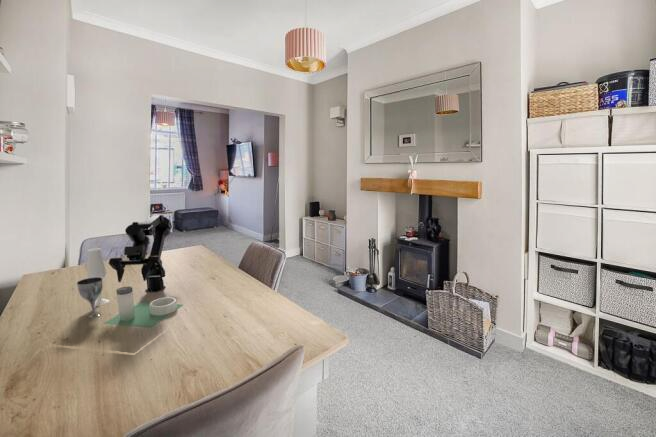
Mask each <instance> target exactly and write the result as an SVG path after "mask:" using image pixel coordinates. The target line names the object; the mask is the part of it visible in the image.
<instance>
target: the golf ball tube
mask: <svg viewBox="0 0 656 437" xmlns="http://www.w3.org/2000/svg"><path fill="white" fill-rule="evenodd" d="M133 290H134V289H133V287H132V286H122V287H118V288H117V289H116V290H115V292H116V297H117V298H116V299H117V304H118V305H117V306H118V315H119V316H120V321H129V320H132V319H134V318H135V312H134V306H135V305H134V304H135V303H134V294H133Z"/></svg>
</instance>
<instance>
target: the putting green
mask: <svg viewBox="0 0 656 437" xmlns="http://www.w3.org/2000/svg"><path fill="white" fill-rule="evenodd" d="M183 306H184V304H178V303H177V299H176V298H175V297H171V296H165V297H160V298H157V299H154V300H152V301H140V302H138V303H137V304H135V305H134V312H135V318H134V319H132V320H129V321H120V316H119V314H117V315H116V316H113V317H112V318H110V319H109V320H107V321H105V322H103V324H106V325H118V326H126V327H127V326H128V327H129V326H130V327H136V328H137V327H139V328H150V329H151V328H153V327H154V326H155V325H157V324H158V323H160V322H161V321H163V320H164V319H166V318H167V317H168V316H170V315H172V314H173V313H174V312H175V311H177V310H179V309H180V308H181V307H183Z"/></svg>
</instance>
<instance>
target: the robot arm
mask: <svg viewBox="0 0 656 437" xmlns="http://www.w3.org/2000/svg"><path fill="white" fill-rule="evenodd" d="M172 227H173V225H172V222H171V221H170V219H169V218H167V217H165V216H164V215H163V214H162V213H160V214H157V213H156V214H151V215H150V216H149V218H147V219H146V220H145V221H142V222H138V221H133V222H132V224H129V225H128V226H127V227H126V228H125V231H124V232H125V233H126V235H127V237H128V238H129V240H130V241H131V242H133V243H132V246H124V252H123V255H124V256H126V259H127V260H124V259H123V257H120V256H119V257H111V258H110V259H109V261H108V265H109V266H110V267H111V268H112V269H113V270H115V271H116V275H117V282H118V283H122V280H123V277H124V273H125V267H126V266H133V265H134V266H135V265H137V266H138V265H139V266H140V265H142V266H141V275H142V279H143V281H144V282H146V289H145V291H144V292H154V293H157V292H159V291H161V290H163V289H165V288H166V286H165V284H164V279H163V278H165V277H166V270H165V268H164V266H163V261H162V259H161V257H162V252H163V248H164V242H165V238H166V237H167V236H168V235H170V233H171V230H172ZM153 235H154V237H153V241H152V246H151V249H150V253H149V254H150V255H149V256H148V257H147V258H146V256H147V255H148V247H149V244H151V243H150V238H149V237H151V236H153Z"/></svg>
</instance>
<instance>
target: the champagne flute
mask: <svg viewBox="0 0 656 437" xmlns="http://www.w3.org/2000/svg"><path fill="white" fill-rule="evenodd" d="M86 253H87V255H86V258H87V259H86V261H87V263H86V266H87V268H86V271H87V274H86V275H87V278H93V277H100V278H102V280H103V279H104V278H105V277H106V275H107V269H106V265H105V261H104V257H103V256H104V255H103V252H102V248H99V247H96V248H95V247H94V248H90V249H89V248H88V249H87V250H86ZM109 302H110V300H109V299H106V298H102V293H101V294H100V296H99V297H98V298H97V300H96V301H95V307H98V306H99V307H100V306H103V305H105V304H107V303H109Z"/></svg>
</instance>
